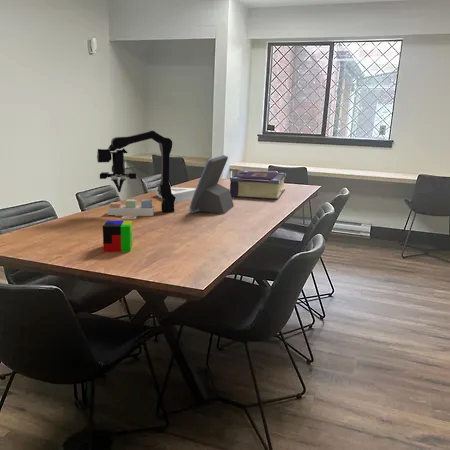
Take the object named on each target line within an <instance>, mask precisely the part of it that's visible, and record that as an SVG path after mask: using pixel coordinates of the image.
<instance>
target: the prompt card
mask: <svg viewBox="0 0 450 450" xmlns="http://www.w3.org/2000/svg"><path fill="white" fill-rule="evenodd" d="M137 217H138V216H121V220H136V219H137Z"/></svg>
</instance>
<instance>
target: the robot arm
mask: <svg viewBox="0 0 450 450" xmlns="http://www.w3.org/2000/svg"><path fill="white" fill-rule="evenodd" d="M147 140H153V141H155V142H156V143H158V145H159V146H158V147H159V150H160V151H159V152H160V154H161V155H160V156H161V157H160V158H161V162H160V163H161V165H160V183H157V186H156V187H158V190H157V191H158V193H159V195H160V196H162V198H161V199H162V201H161V204H160V205H161V212H162V213H175V203H174V201H175V198H176V197H175V196H174V195H173V194H171V188H172V187H171V182H170V156H171V155H170V154H171V151H172V148H173V141H172V139H171V138H169V137H165V136H162V135H161V134H159V133H158V132H156V131H155V130H148V131H145V132H140V133H137V134H134V135H129V136H115V137H113V138H111V142H110V145H109V146H108V148H107V149H104V148H103V149H102V148H97V152H96V153H97V154H96V159H97V163H101V164H102V163H110V162H111V161H112V166H111V172H112V173H110V172H107V171H106V172H103V171H102V172H101V173H99V179H100V180H106V179H108V178H111V179H110V181H112V182H113V183H114V185H115V187H116V190H117V192H118V193H121V191H122V188H123V184H124V182H125V181H127V178H128V179H130V180H137V179H138V172H136V171H135V172H134V171H131V172H128V173H126V167H125V158H124V157H125V156H124V155H125V154H128V151H127V150H126V149H125V147H127V146H129V145H131V144H135V143H140V142H143V141H147ZM119 178H120V179H119Z"/></svg>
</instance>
